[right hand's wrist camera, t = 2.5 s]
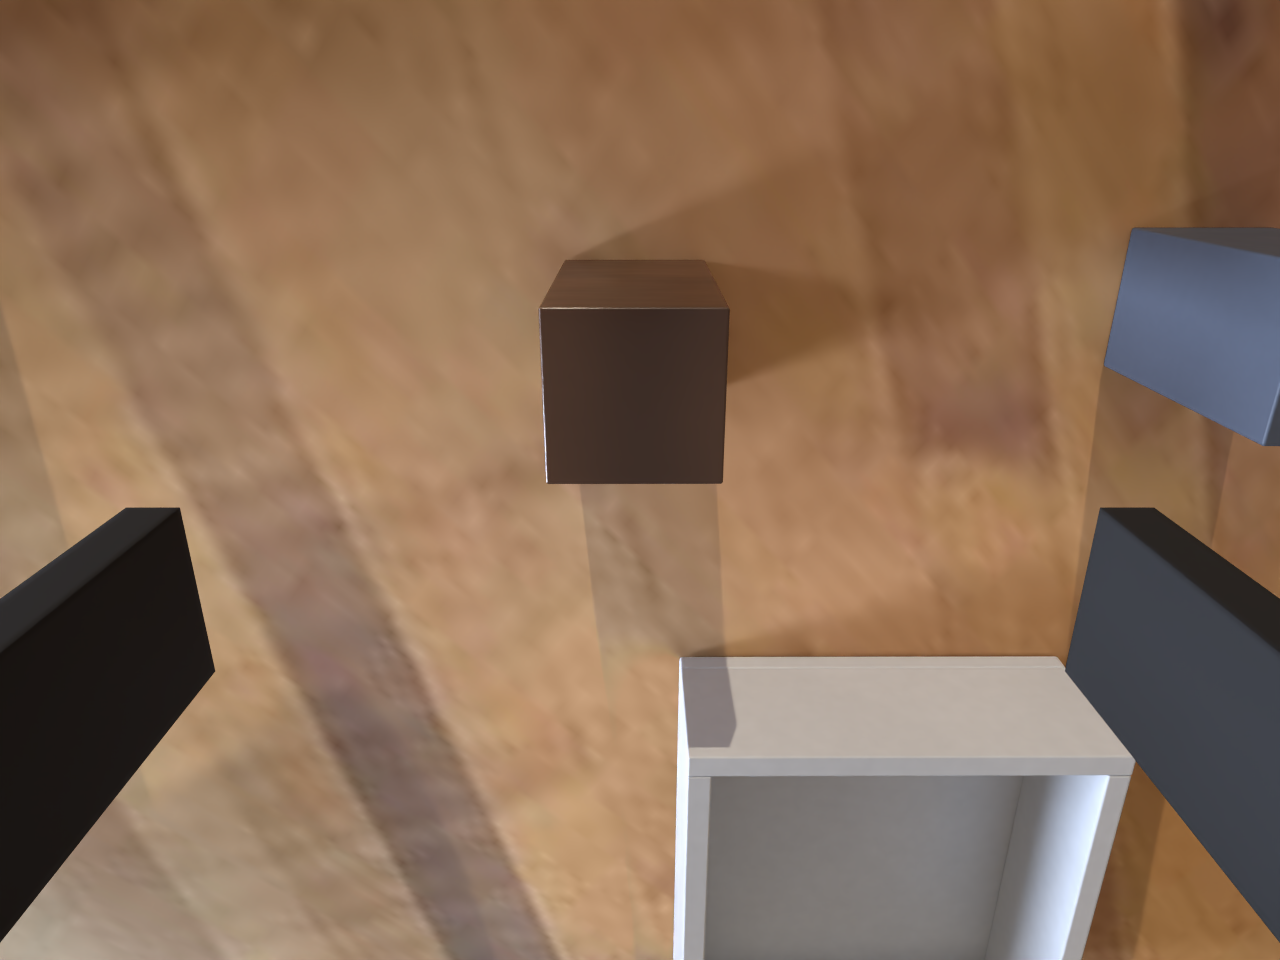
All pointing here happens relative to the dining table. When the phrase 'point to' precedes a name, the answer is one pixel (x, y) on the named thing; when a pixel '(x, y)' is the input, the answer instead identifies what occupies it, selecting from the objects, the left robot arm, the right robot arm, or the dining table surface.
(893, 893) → the grey tray
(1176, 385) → the slate block
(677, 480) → the walnut block
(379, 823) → the dining table surface
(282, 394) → the dining table surface
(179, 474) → the dining table surface
